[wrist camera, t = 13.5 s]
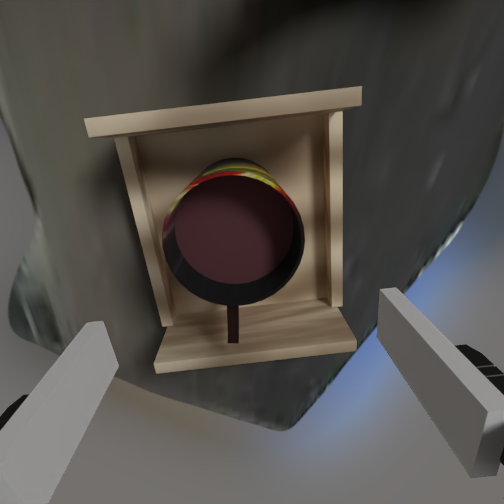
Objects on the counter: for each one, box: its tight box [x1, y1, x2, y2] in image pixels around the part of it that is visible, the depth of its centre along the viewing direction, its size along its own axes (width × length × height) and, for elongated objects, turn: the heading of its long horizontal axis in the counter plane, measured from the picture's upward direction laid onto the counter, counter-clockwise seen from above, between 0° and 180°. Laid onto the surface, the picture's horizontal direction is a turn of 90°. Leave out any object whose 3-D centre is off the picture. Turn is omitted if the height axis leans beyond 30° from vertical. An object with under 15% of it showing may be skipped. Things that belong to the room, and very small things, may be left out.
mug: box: [162, 158, 305, 344], centre depth 27 cm, size 10×14×12 cm
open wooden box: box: [84, 86, 362, 374], centre depth 29 cm, size 22×20×9 cm
